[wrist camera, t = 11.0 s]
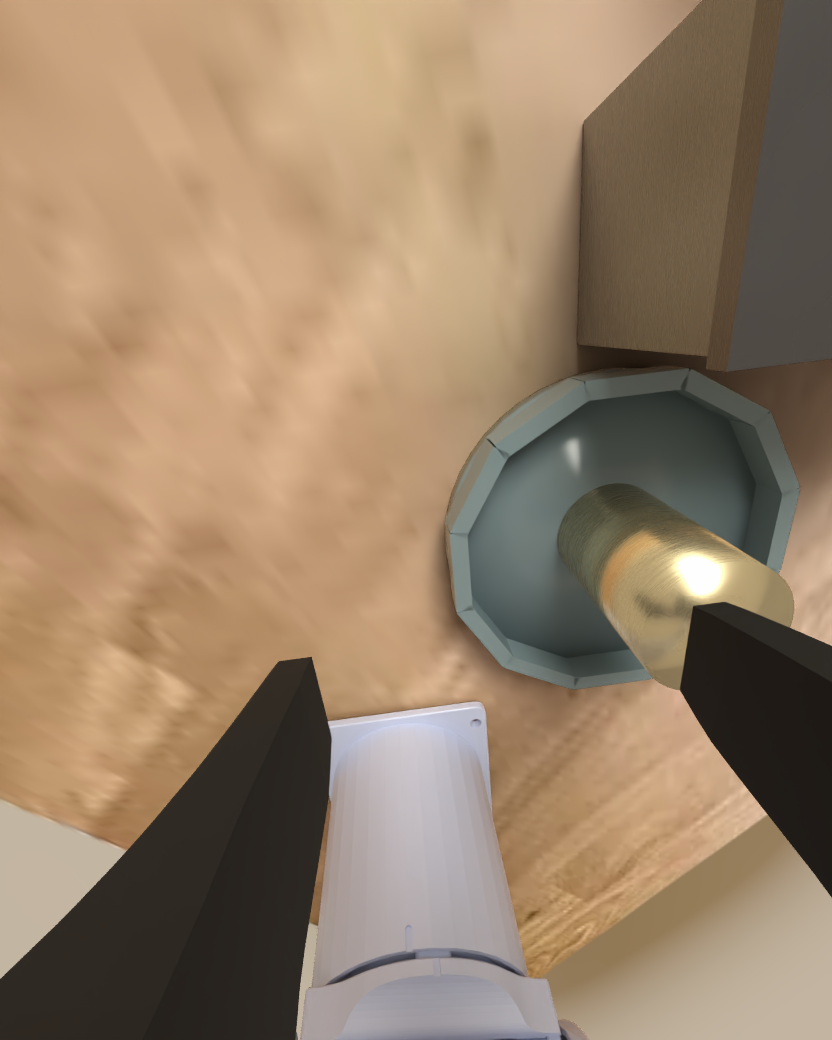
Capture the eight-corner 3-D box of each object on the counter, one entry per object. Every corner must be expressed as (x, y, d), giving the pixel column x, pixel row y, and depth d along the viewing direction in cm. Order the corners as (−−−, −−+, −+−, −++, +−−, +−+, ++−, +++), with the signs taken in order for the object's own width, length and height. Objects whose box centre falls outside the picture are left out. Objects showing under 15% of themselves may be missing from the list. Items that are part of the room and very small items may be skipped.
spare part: (670, 480, 17) (815, 557, 11) (651, 575, 18) (770, 685, 13) (562, 486, 16) (654, 568, 11) (552, 582, 18) (629, 696, 12)
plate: (721, 631, 21) (758, 664, 19) (456, 667, 20) (464, 704, 18) (776, 347, 16) (833, 350, 14) (430, 389, 16) (437, 399, 14)
